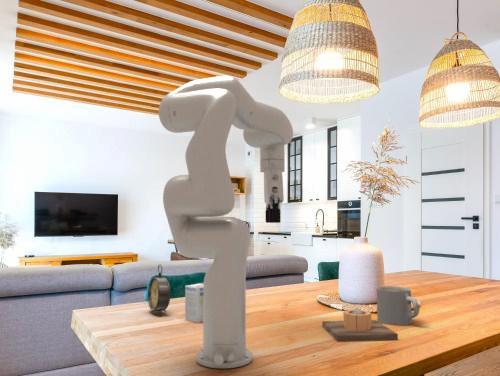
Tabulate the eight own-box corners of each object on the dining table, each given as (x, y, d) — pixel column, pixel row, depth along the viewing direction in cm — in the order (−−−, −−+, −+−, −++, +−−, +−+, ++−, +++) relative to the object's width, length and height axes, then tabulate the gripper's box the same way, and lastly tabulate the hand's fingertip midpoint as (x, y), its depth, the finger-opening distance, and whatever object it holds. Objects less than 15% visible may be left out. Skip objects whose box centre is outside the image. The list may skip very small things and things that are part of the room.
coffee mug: (370, 319, 129) (370, 287, 130) (396, 316, 132) (395, 285, 133) (400, 329, 116) (399, 293, 117) (427, 326, 120) (426, 291, 121)
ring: (374, 330, 110) (374, 315, 111) (349, 330, 110) (348, 315, 110) (365, 323, 117) (365, 309, 118) (341, 324, 117) (341, 310, 117)
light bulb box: (208, 314, 137) (208, 281, 138) (223, 316, 133) (223, 283, 134) (183, 319, 129) (184, 285, 130) (198, 323, 125) (199, 287, 126)
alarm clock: (146, 311, 141) (147, 263, 142) (161, 309, 144) (162, 262, 145) (157, 317, 132) (157, 266, 133) (173, 315, 134) (173, 265, 136)
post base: (397, 339, 106) (397, 314, 107) (337, 341, 105) (336, 315, 106) (375, 325, 121) (375, 303, 122) (322, 326, 120) (322, 303, 121)
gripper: (289, 163, 118) (289, 222, 117) (280, 170, 135) (280, 222, 134) (263, 162, 118) (263, 222, 116) (257, 170, 135) (257, 222, 133)
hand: (272, 222), depth 125 cm, fingers open, 9 cm apart
